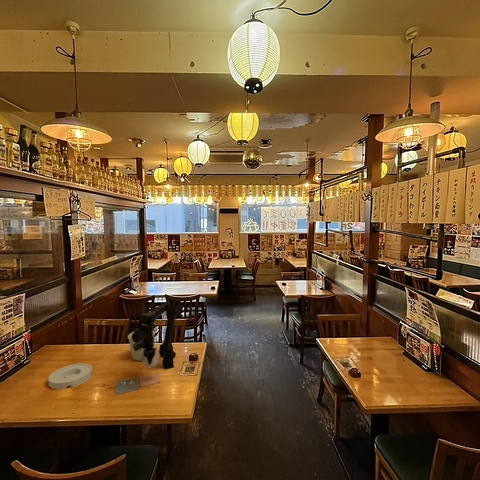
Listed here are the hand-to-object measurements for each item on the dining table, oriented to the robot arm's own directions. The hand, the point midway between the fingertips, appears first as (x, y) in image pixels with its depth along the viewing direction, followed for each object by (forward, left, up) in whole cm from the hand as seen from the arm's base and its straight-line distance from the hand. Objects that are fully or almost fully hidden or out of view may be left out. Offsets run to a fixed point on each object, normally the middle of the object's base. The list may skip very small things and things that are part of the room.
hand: (149, 361), depth 169 cm
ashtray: (+45, -23, -12) cm, 52 cm away
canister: (+3, -34, -12) cm, 36 cm away
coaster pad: (0, 0, -12) cm, 12 cm away
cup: (0, -1, -2) cm, 2 cm away
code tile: (+13, 0, -12) cm, 17 cm away
